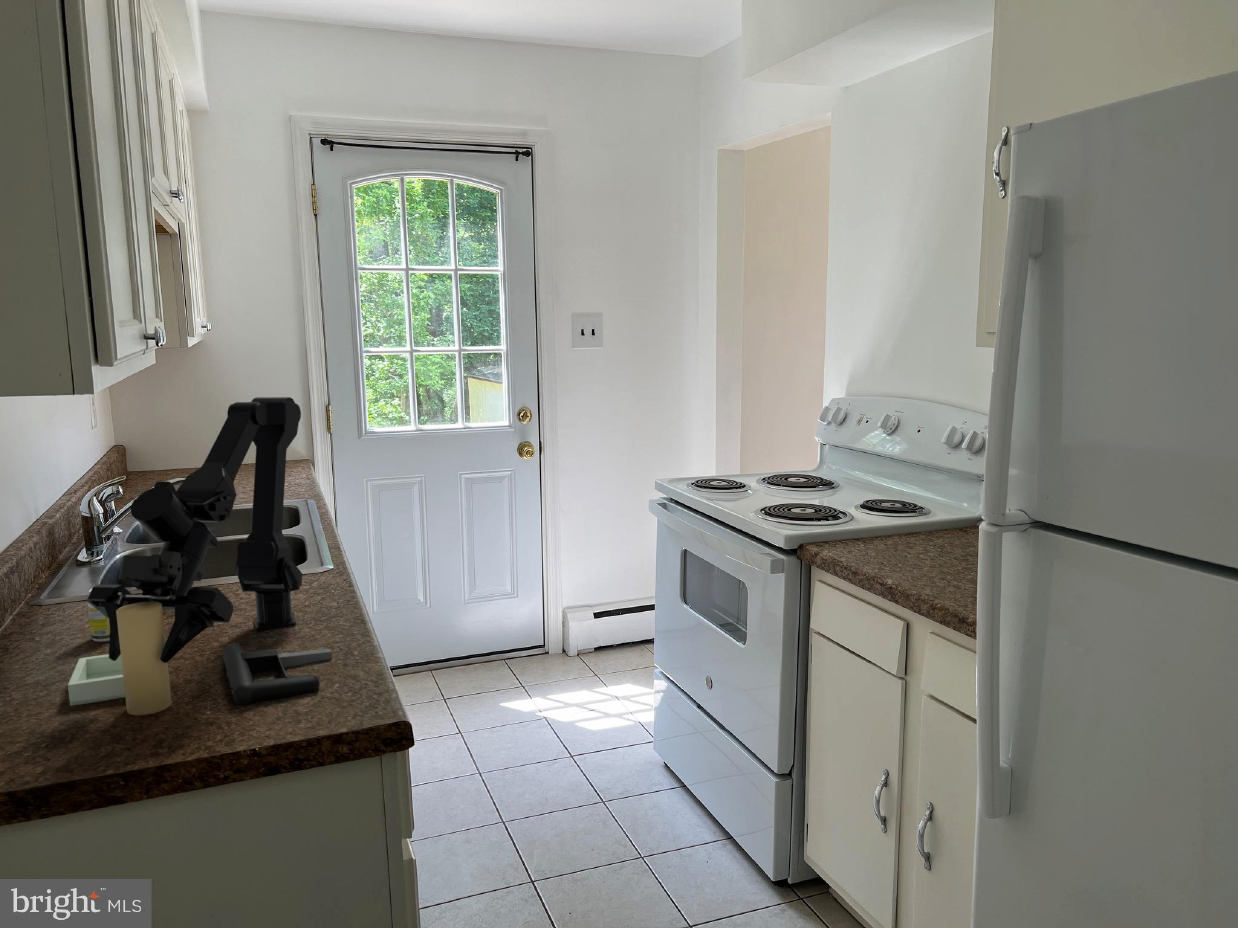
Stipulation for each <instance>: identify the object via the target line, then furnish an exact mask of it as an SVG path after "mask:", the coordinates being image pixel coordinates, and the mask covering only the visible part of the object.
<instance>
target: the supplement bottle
mask: <svg viewBox="0 0 1238 928" xmlns="http://www.w3.org/2000/svg"><path fill="white" fill-rule="evenodd" d="M91 590H92V588H91V589H89V590H88V595H89V594H90V592H91ZM87 611H88V612H87V613H88V621H89V628H90V637H91V640H93V641H94V642H109V637H110V625H109V618H108V617H106V616H105V615H103V614H102V613H101V612H100V611H99V610H97V609H96V608H95V607H94V606H92V605H91V604H90V603H89V602H87Z"/></svg>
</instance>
